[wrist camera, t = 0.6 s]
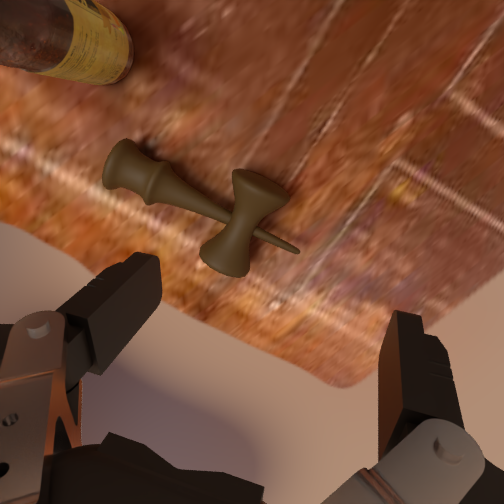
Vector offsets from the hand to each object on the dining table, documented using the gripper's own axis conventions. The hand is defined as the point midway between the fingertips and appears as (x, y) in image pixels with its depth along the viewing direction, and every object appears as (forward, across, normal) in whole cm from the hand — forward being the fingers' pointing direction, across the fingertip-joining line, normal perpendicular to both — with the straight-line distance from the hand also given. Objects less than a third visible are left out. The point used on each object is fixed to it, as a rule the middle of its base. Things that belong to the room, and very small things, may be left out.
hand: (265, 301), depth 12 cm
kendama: (+23, +11, +8) cm, 27 cm away
